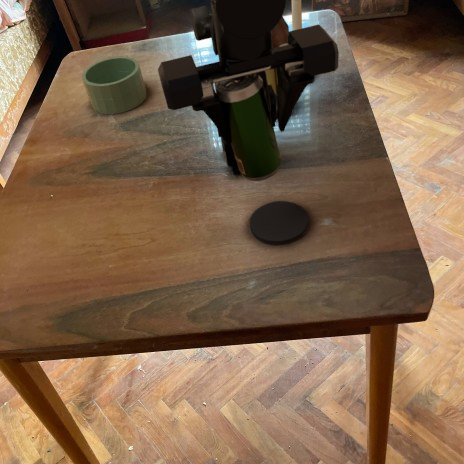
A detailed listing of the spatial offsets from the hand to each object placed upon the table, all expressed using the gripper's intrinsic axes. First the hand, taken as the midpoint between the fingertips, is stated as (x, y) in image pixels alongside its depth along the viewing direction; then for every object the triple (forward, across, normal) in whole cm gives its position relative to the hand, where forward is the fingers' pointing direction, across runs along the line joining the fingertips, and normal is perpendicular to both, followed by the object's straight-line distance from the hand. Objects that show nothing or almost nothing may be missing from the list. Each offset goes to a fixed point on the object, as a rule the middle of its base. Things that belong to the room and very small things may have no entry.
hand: (254, 136), depth 62 cm
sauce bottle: (+13, -9, -26) cm, 31 cm away
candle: (+13, -16, -35) cm, 41 cm away
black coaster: (+13, -2, +2) cm, 13 cm away
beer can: (+5, 0, 0) cm, 5 cm away
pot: (+13, +17, -43) cm, 48 cm away
